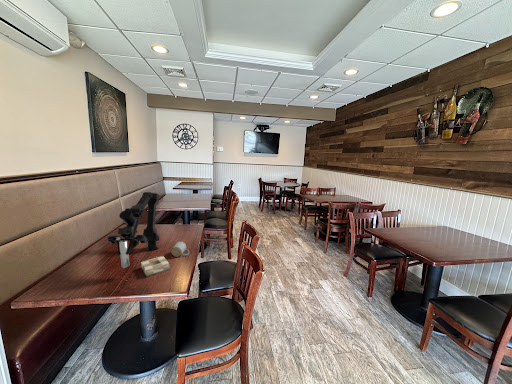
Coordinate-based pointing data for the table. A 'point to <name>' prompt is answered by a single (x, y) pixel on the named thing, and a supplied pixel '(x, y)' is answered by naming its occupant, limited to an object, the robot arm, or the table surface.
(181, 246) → the ceramic mug
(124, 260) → the steel pin
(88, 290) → the table surface
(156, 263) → the socket block
